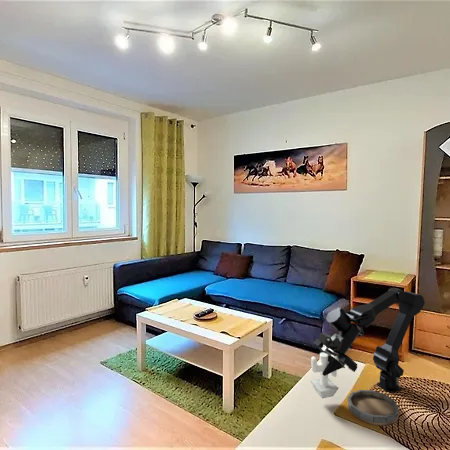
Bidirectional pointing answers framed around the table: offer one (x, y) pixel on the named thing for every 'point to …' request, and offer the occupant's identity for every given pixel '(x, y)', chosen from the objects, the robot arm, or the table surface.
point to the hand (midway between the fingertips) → (320, 373)
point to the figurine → (323, 377)
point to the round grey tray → (371, 417)
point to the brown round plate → (373, 408)
